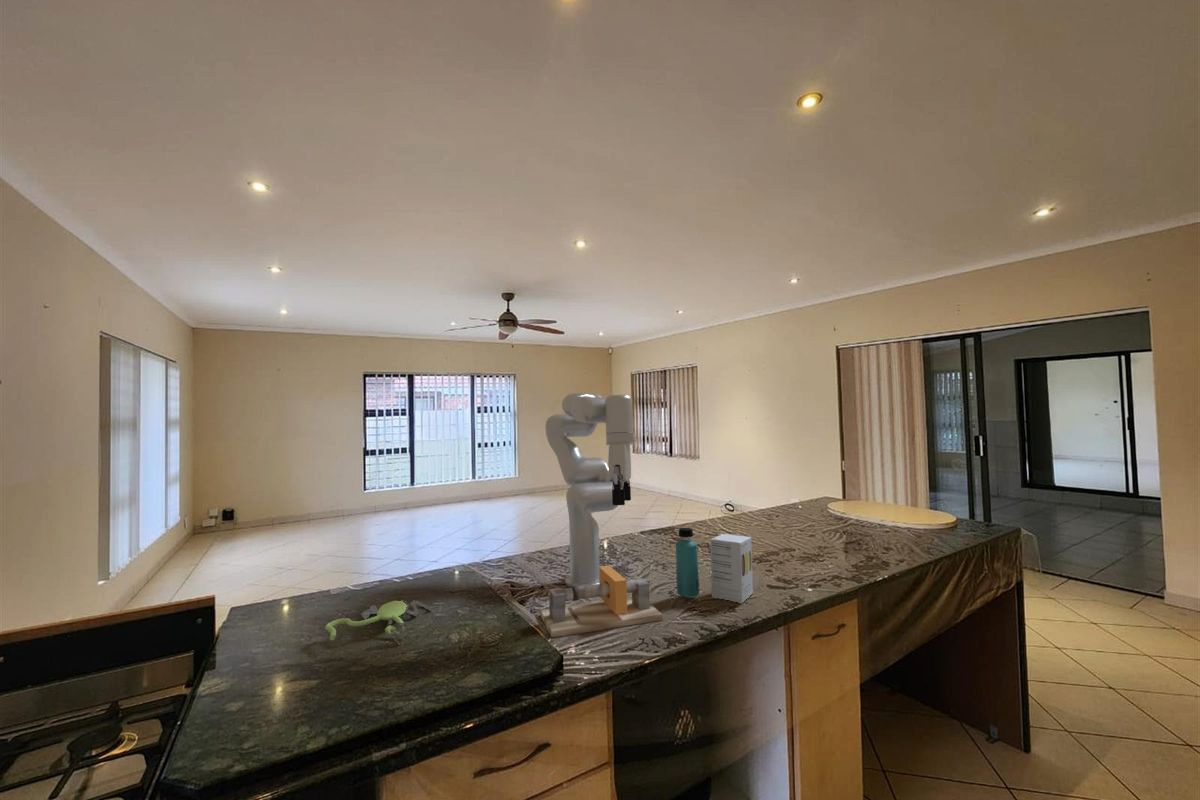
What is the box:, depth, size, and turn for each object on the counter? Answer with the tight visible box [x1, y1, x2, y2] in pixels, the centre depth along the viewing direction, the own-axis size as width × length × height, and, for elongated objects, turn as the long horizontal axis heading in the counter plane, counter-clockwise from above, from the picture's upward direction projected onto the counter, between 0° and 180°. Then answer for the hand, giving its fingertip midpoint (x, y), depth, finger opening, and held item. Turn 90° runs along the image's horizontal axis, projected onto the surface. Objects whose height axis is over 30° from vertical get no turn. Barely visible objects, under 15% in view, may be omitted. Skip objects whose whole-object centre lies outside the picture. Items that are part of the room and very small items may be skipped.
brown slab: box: [599, 565, 628, 614], centre depth 121 cm, size 13×3×8 cm, turn 18°
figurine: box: [324, 600, 407, 641], centre depth 116 cm, size 18×27×6 cm
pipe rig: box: [539, 577, 663, 639], centre depth 120 cm, size 14×29×9 cm, turn 108°
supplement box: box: [709, 533, 754, 604], centre depth 134 cm, size 10×9×17 cm
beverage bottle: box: [675, 527, 700, 598], centre depth 133 cm, size 6×7×20 cm
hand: (622, 502), depth 125 cm, fingers open, 9 cm apart
